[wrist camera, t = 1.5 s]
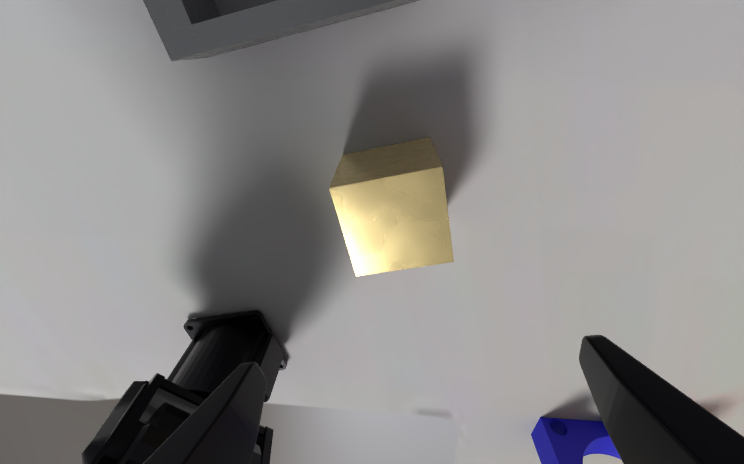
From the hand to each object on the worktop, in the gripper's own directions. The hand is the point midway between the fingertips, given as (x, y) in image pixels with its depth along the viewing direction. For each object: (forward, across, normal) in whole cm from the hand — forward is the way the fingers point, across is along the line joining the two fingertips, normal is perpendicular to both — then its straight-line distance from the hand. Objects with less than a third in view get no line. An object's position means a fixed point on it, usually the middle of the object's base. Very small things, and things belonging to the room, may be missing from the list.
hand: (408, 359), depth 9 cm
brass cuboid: (+12, +1, 0) cm, 12 cm away
